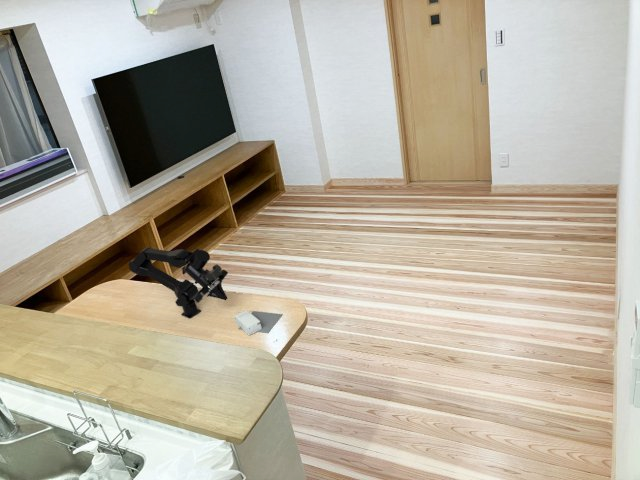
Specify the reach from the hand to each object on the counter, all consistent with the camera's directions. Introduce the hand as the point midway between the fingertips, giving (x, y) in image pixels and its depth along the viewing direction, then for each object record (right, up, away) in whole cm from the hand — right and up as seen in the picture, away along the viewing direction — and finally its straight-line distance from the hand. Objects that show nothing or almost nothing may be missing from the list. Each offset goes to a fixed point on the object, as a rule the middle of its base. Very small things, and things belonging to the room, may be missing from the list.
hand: (226, 299), depth 215 cm
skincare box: (+6, -7, 0) cm, 9 cm away
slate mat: (+14, -9, -2) cm, 17 cm away
